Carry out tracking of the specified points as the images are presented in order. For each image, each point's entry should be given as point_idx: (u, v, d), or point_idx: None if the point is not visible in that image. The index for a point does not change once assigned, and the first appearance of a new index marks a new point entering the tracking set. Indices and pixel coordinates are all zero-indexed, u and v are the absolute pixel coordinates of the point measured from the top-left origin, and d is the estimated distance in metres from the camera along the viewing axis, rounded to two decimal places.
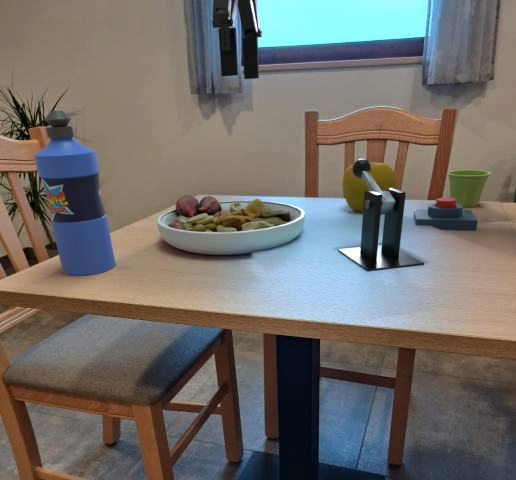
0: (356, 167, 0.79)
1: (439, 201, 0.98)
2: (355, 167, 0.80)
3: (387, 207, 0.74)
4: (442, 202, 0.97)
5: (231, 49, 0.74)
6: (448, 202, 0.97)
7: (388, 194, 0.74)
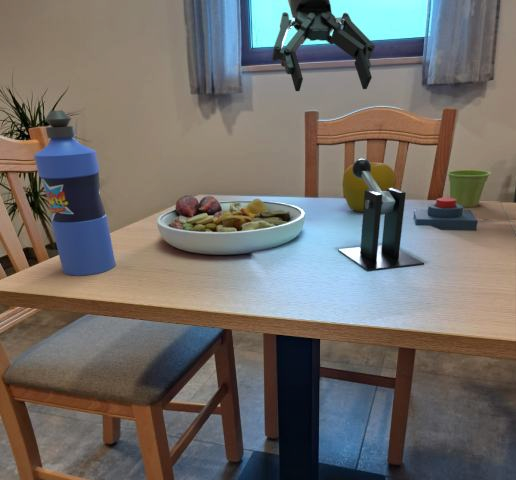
0: (356, 167, 0.79)
1: (439, 201, 0.98)
2: (355, 167, 0.80)
3: (387, 207, 0.74)
4: (442, 202, 0.97)
5: (291, 66, 0.85)
6: (448, 202, 0.97)
7: (388, 194, 0.74)
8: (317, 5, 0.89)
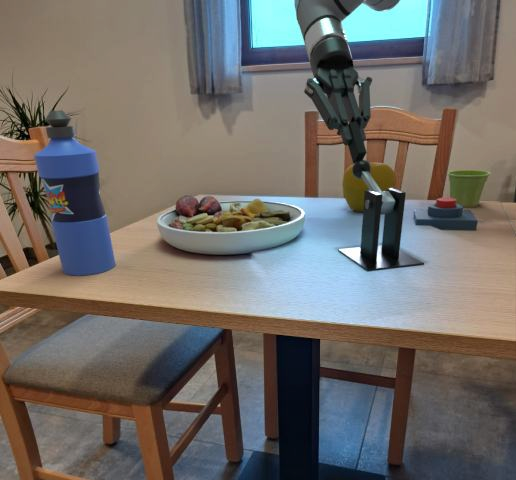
0: (355, 168, 0.80)
1: (439, 201, 0.98)
2: (355, 167, 0.80)
3: (387, 207, 0.74)
4: (442, 202, 0.97)
5: (350, 138, 0.81)
6: (448, 202, 0.97)
7: (388, 194, 0.74)
8: (339, 61, 0.84)
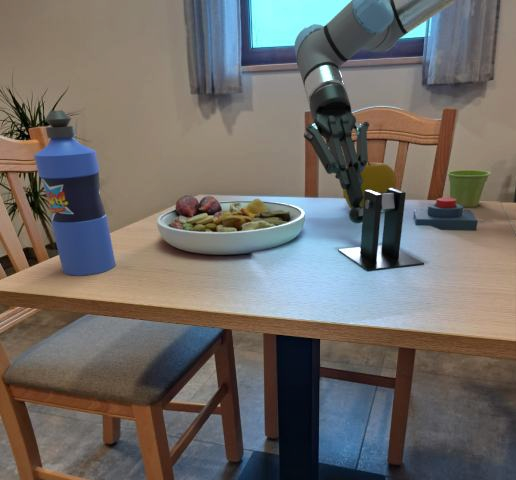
0: (351, 210, 0.84)
1: (439, 201, 0.98)
2: (351, 211, 0.84)
3: (388, 200, 0.73)
4: (442, 202, 0.97)
5: (348, 183, 0.84)
6: (448, 202, 0.97)
7: None
8: (337, 107, 0.87)
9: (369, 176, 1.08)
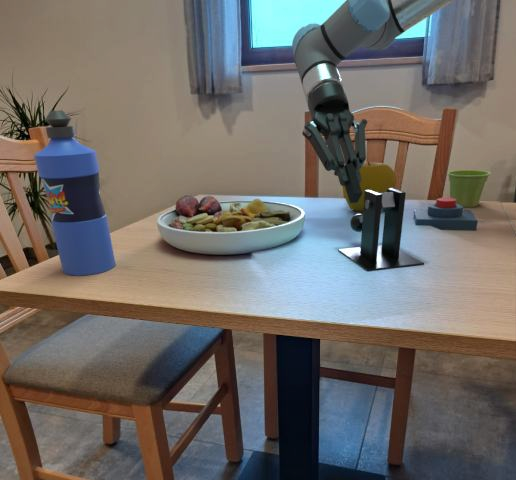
0: (352, 219, 0.84)
1: (439, 201, 0.98)
2: (352, 219, 0.84)
3: (387, 198, 0.73)
4: (442, 202, 0.97)
5: (346, 179, 0.84)
6: (448, 202, 0.97)
7: None
8: (335, 104, 0.88)
9: (369, 176, 1.08)
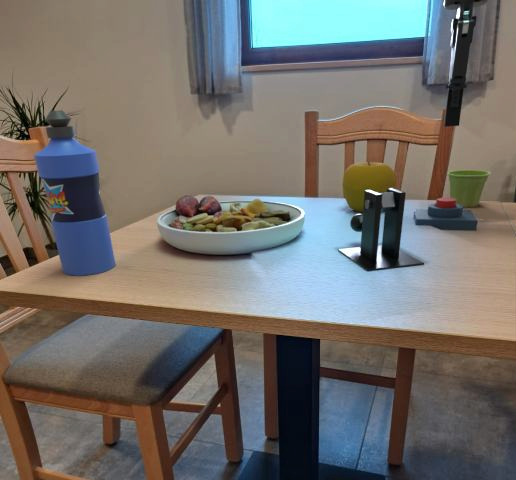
0: (352, 219, 0.84)
1: (439, 201, 0.98)
2: (352, 219, 0.84)
3: (387, 198, 0.73)
4: (442, 202, 0.97)
5: (458, 105, 0.89)
6: (448, 202, 0.97)
7: None
8: (476, 5, 0.83)
9: (369, 176, 1.08)
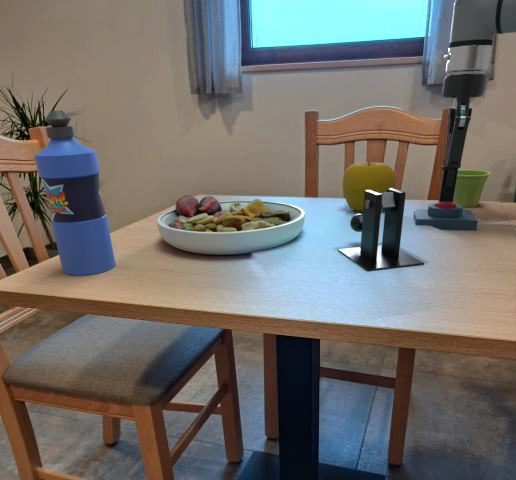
0: (352, 219, 0.84)
1: (439, 204, 0.98)
2: (352, 219, 0.84)
3: (387, 198, 0.73)
4: (442, 205, 0.98)
5: (452, 184, 0.96)
6: (447, 205, 0.97)
7: None
8: None
9: (369, 176, 1.08)
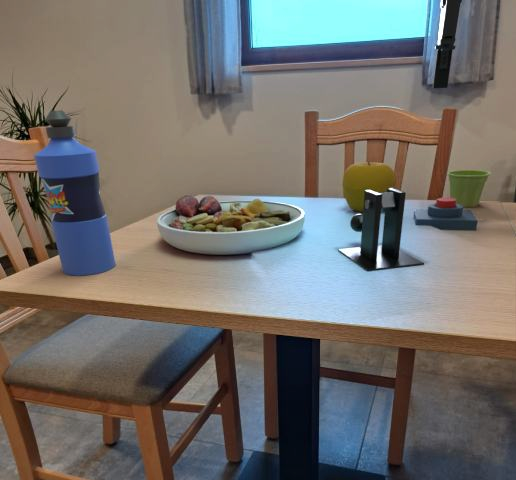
0: (352, 219, 0.84)
1: (439, 201, 0.98)
2: (352, 219, 0.84)
3: (387, 198, 0.73)
4: (442, 202, 0.97)
5: (447, 66, 0.90)
6: (448, 202, 0.97)
7: None
8: None
9: (369, 176, 1.08)
